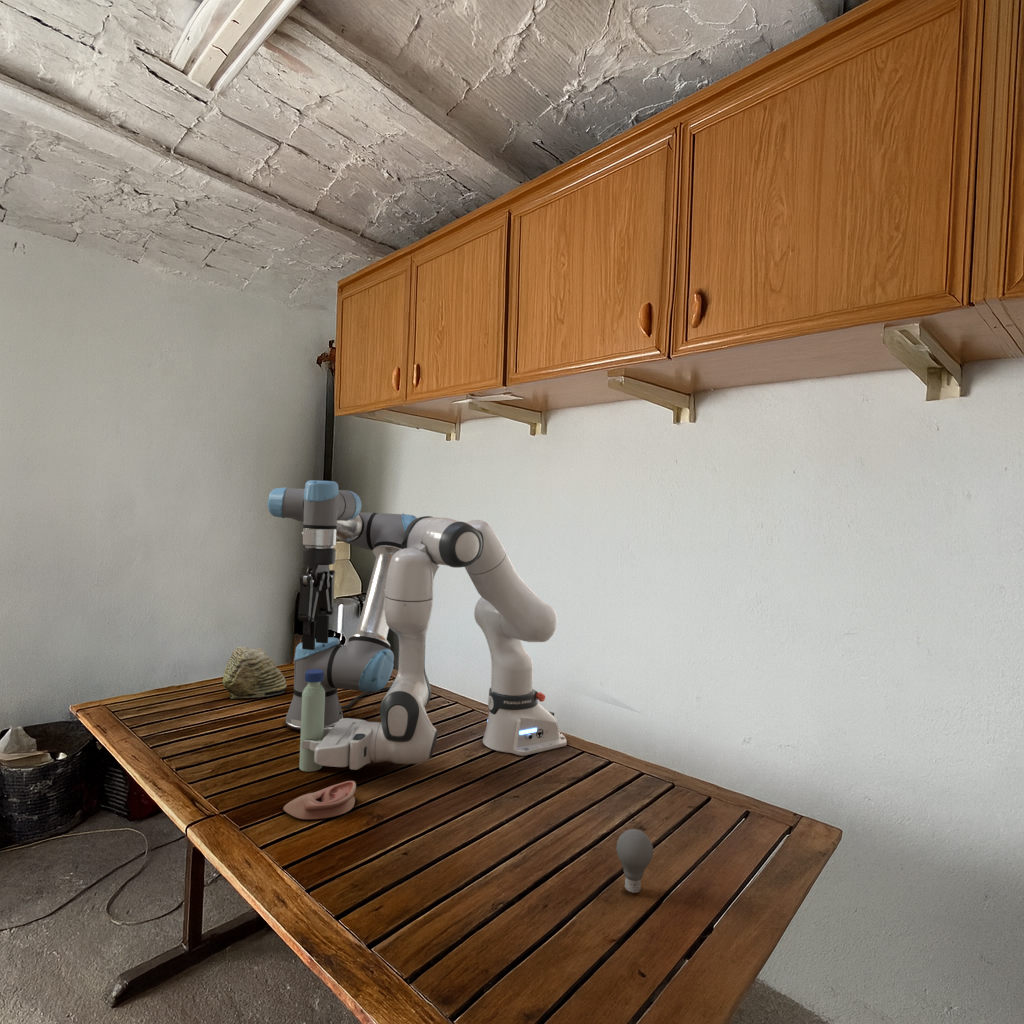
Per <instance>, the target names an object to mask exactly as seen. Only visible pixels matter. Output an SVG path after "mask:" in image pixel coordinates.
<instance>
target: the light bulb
mask: <svg viewBox="0 0 1024 1024" xmlns="http://www.w3.org/2000/svg"><path fill="white" fill-rule="evenodd" d="M615 849H616V854H617V857H618V859H619V861H620V863H621V865H622V867H623V873H624V874H623V875H624V876H625V878H624V888H625V890H627V891H628V892H630V893H634V894H635V893H639V892H640V891H641V889H642V887H641V886H642V879H643V877H644V875H645V871H646V868H647V867H648V866H649V864H650V863H651V861H652V859H653V855H654V847H653V843H652V841H651V838H649V836H648V835H647V834H646V833H645V832H643V831H642V830H641V829H636V828H629V829H627V830H625V831H623V832H622V833H621V834H620V835H619V837H618V839H617V841H616V847H615Z"/></svg>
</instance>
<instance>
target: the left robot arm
mask: <svg viewBox="0 0 1024 1024" xmlns="http://www.w3.org/2000/svg"><path fill="white" fill-rule="evenodd" d="M362 507H363V506H362V500H361V498H360V496H359V495H358V494H357V493H356V492H354V491H351V490H348V489H346V490H345V489H339V484H338V482H336V481H332V480H313V479H310V480H307V481H306V482H305V484H304V488H294V487H287V486H284V487H276V488H273V489H272V490H271V491H270V492H269V495H268V498H267V510H268V512H269V513H270V515H271V516H272V517H275V518H281V519H292V520H295V521H297V522H301V523H302V531H301V536H302V545H303V548H301V563H302V564H303V565H307V569H306V572H305V573H306V574H305V575H304V574H301V575H300V576H299V586H300V587H299V598H298V609H297V611H298V613H297V619H298V621H300V622H302V638H301V639H302V640H301V641H302V642H299V643H298V644H297V645H296V647H295V652H294V653H295V654H294V659H293V661H294V672H293V695H292V696H293V697H292V699H291V702H290V704H289V708H288V711H287V713H286V715H285V726H286V728H287V729H289V730H291V731H294V732H295V731H296V732H301V711H302V692H303V690H304V689H305V687H306V686H307V685H308V682H306V681H305V672H306V671H307V670H310V669H321V670H323V671H324V679H323V681H320V684H321V685H322V687H323V688H324V690H325V711H324V728H327V727H334V726H335V725H336V724H337V722H338V721H339V720H340V719H343V718H344V714H343V710H345V709H349V708H350V707H351V706H353V705H354V704H355V702H356V701H358V700H359V699H361V698H363V697H365V696H367V695H370V694H373V693H377V692H382V691H389V689H390V688H391V686H387V684H388V683H389V681H390V678H391V677H392V676H391V675H392V673H393V671H394V666H395V665H394V664H395V663H394V661H395V655H394V652H393V651H392V650H391V644H390V642H389V641H388V640H387V638H388V634H389V630H390V628H389V627H388V625H387V624H386V619H385V611H384V598H385V586H386V578H387V573H388V568H389V564H390V561H391V558H392V556H393V554H394V553H395V552H397V551H399V550H401V549H402V547H401V544H402V542H403V539H404V534H405V531H406V529H407V527H408V525H409V524H410V523H411V522H412V521H413V520H414V519H416V518H418V517H417V516H415V515H414V514H405V513H387V512H361V511H362ZM337 540H338V541H340V542H342V543H345V544H348V545H349V546H350V545H351V546H353V547H357V548H360V549H363V550H368V551H372V554H373V555H374V557H375V561H374V564H373V569H372V573H371V575H370V579H369V584H368V588H367V591H366V595H365V599H364V602H363V606H362V610H361V613H360V617H359V621H358V625H357V629H356V632H355V633H353V634H352V635H350V636H349V637H348V641H347V644H346V645H345V644H340V643H341V641H340V639H339V638H338V637H334V636H333V637H329V625H330V616H333V615H334V612H335V611H334V608H335V575H336V571H335V570H333V569H330V565H331V566H332V565H334V564H335V563H336V556H337V555H336V554H337V549H336V548H335V547H336V546H337ZM403 548H404V546H403ZM317 607H318V614H317V615H316V611H317ZM315 616H316V620H315ZM338 689H339V690H340V689H341V690H347V691H348V690H349V691H359V692H362V693H361V694H358V696H356V697H354V698H353V699H352V700H351V701H350V702H349V703H348V704H346V705H341V702H340V699H339V695H338Z"/></svg>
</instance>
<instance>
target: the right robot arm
mask: <svg viewBox="0 0 1024 1024" xmlns="http://www.w3.org/2000/svg"><path fill="white" fill-rule="evenodd" d="M403 546H404V548H403ZM401 547H402V549H401V550H399V551H397V552H395V553H394V554H393V556H392V558H391V561H390V564H389V568H388V573H387V578H386V586H385V598H384V611H385V619H386V624H387V625H388V627H389V630H391V631H392V632H393V633H394V634H396V635H397V638H398V646H399V647H398V670H397V674H396V676H395V678H394V680H393V681H392V683H391V686H390V687H391V688H390V689H389V690H387V692H386V694H385V695H384V697H383V699H382V700H381V702H380V707H379V708H380V709H379V715H380V722H379V721H367V720H365V719H359V718H352V717H343V719H340V720H339V721H338V722H337V724H336V725H335V726H334V727H327V728H324V736H323V740H322V741H312V739H305V740H304V741H303V742H302V748H303V749H310V750H312V751H314V752H315V754H314V762H315V763H316V764H318V765H322V767H331V768H332V767H334V768H347V767H348V768H349V770H352V771H357V770H360V769H361V768H363V767H365V766H367V765H370V764H371V763H378V764H379V763H384V762H390V763H393V764H397V765H418V764H424V763H428V762H429V761H430V760H431V759H432V757H433V754H434V752H435V747H436V744H437V739H438V729H437V728H436V727H435V726H434V724H433V723H432V722H431V720H430V718H429V716H428V714H427V710H426V707H427V705H428V704H429V702H430V701H431V697H432V686H431V684H430V681H429V678H428V676H427V673H426V666H425V665H426V640H427V639H426V638H427V634H428V633H427V632H428V629H429V625H430V622H431V619H432V614H433V613H432V612H433V606H434V592H435V591H434V589H435V588H434V585H435V584H434V579H435V576H436V574H437V571H438V569H439V568H440V566H441V565H442V566H447V567H451V568H454V569H455V568H456V569H457V568H458V569H459V568H464V569H465V571H466V573H467V575H468V577H469V578H470V580H471V582H472V584H473V586H474V587H475V590H476V592H477V593H478V595H479V596H480V597H479V599H478V600H477V602H476V604H475V606H474V610H473V611H474V613H473V616H474V620H475V623H476V624H477V625H478V626H479V628H480V630H481V631H482V633H483V634H484V637H485V639H486V643H487V646H488V650H489V654H490V663H491V665H490V666H491V667H490V669H491V670H490V671H491V672H490V673H491V674H490V675H491V676H490V687H489V689H488V699H487V705H488V717H487V719H486V720H487V723H486V727H485V730H484V733H483V737H482V744H483V745H484V746H485V747H486V748H488V749H491V750H493V751H496V752H502V753H509V754H514V755H516V756H521V757H524V756H528V755H534V754H537V753H542V752H546V751H550V750H555V749H560V748H563V747H566V746H567V745H568V743H567V741H568V740H567V738H566V736H565V735H564V734H563V733H562V732H560V731H559V724H558V721H557V719H556V717H555V712H554V711H549V710H547V709H546V708H545V707H544V706H542V705H541V704H540V703H539V702H541V703H542V702H544V701H545V700H546V695H545V694H544V693H543V692H539V691H537V690H536V689H534V687H533V686H534V685H533V683H534V661H533V659H532V657H531V656H530V654H529V653H528V652H527V651H526V649H525V647H524V645H523V642H526V643H545V642H549V640H551V639H552V638H553V636H554V635H555V633H556V631H557V628H558V623H559V622H558V621H559V620H558V615H557V612H556V610H555V609H554V607H553V606H551V605H550V604H548V603H546V601H544V600H542V599H541V598H540V597H539V596H538V595H537V594H536V593H535V592H534V591H533V590H532V589H531V588H530V587H529V586H528V585H527V583H526V582H525V581H524V580H523V579H522V577H521V576H520V575H519V574H518V572H517V570H516V568H515V567H514V565H513V563H512V561H511V559H510V557H509V554H508V553H507V551H506V548H505V547H504V545H503V543H502V542H501V539H500V538H499V536H498V535H497V534H496V532H495V530H494V529H493V528H492V527H491V526H490V525H489V523H487V522H486V521H484V520H481V519H472V520H469V521H467V522H465V521H459V520H456V519H452V518H448V517H438V516H437V517H436V516H435V517H434V516H429V515H426V516H420V517H417V518H416V519H414V520H413V521H412V522H411V523H410V524H409V525H408V527H407V529H406V531H405V534H404V539H403V542H402V544H401ZM439 565H440V566H439ZM560 733H561V734H560Z"/></svg>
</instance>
